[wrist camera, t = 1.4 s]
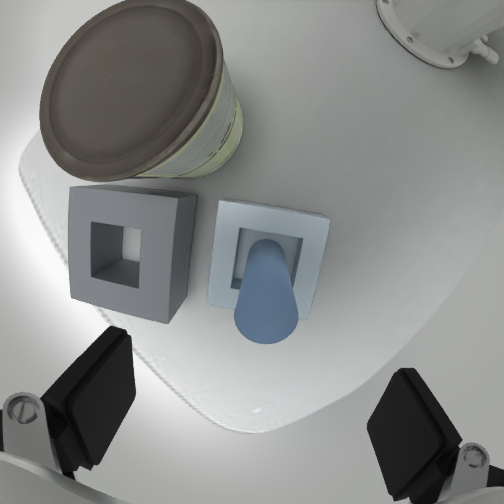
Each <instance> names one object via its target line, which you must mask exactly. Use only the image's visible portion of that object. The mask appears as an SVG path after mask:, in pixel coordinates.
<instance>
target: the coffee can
mask: <svg viewBox="0 0 504 504" xmlns="http://www.w3.org/2000/svg"><path fill="white" fill-rule="evenodd" d="M39 116H40V117H39V119H40V129H41V134H42V137H43V141H44V144H45V146H46V148H47V150H48V152H49V154H50V155H51V157H52V158H53V160H54V161H55V162H56V163H57V165H58V166H59V167H61V168H62V169H63V170H64V171H66V172H67V173H69V174H70V175H73V176H75V177H77V178H80V179H83V180H87V181H93V182H110V181H118V180H124V179H142V178H169V179H196V178H200V177H203V176H206V175H208V174H210V173H212V172H214V171H215V170H217V169H218V168H220V167H221V166H222V165H224V164H225V163H226V162H227V161H228V160H229V159H230V157H231V156H232V155H233V153H234V152H235V150H236V148H237V146H238V144H239V142H240V139H241V136H242V132H243V112H242V109H241V106H240V103H239V101H238V99H237V97H236V94H235V91H234V87H233V84H232V82H231V79H230V76H229V73H228V70H227V67H226V64H225V61H224V58H223V48H222V44H221V40H220V37H219V33H218V31H217V29H216V27H215V26H214V24H213V22H212V20H211V19H210V18H209V16H208V15H207V14H206V13H205V12H204V11H203V10H201V9H200V8H199V7H197V6H196V5H194V4H192V3H190V2H188V1H186V0H125V1H122V2H120V3H117V4H115V5H113V6H111V7H109V8H107V9H105V10H103V11H102V12H100V13H99V14H97V15H95V16H94V17H93V18H91V19H90V20H88V21H87V22H86V23H85V24H84V25H83V26H81V27H80V28H79V29H78V30H77V31H76V32H75V33H74V34H73V35H72V36H71V38H70V39H69V40H68V41H67V43H66V44H65V45H64V46H63V48H62V49H61V51H60V52H59V54H58V55H57V57H56V59H55V60H54V62H53V64H52V66H51V68H50V70H49V73H48V75H47V77H46V80H45V84H44V87H43V90H42V95H41V101H40V114H39Z"/></svg>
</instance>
